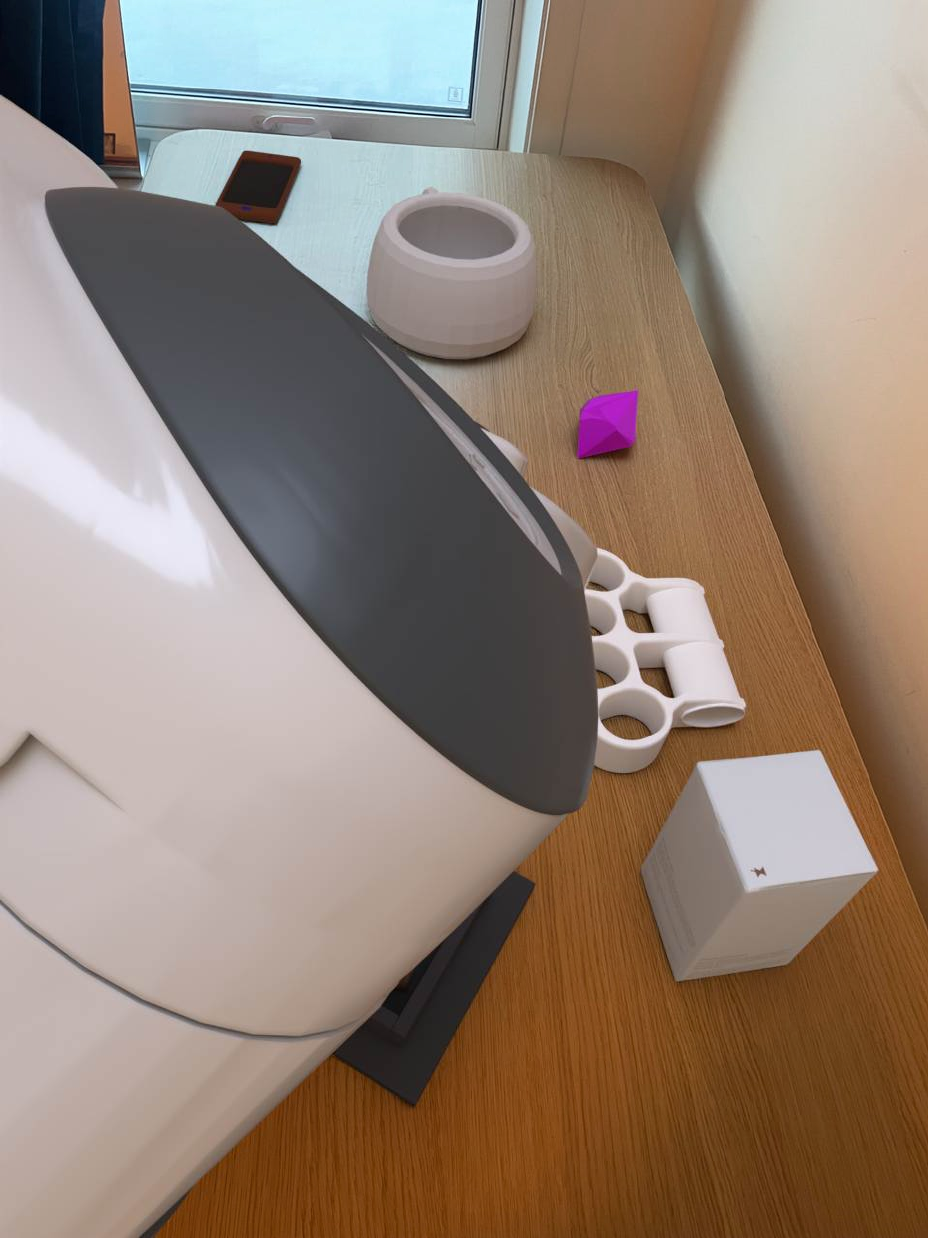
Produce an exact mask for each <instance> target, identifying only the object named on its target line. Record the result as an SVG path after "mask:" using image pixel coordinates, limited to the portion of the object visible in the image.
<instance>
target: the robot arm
mask: <svg viewBox="0 0 928 1238" xmlns="http://www.w3.org/2000/svg"><path fill="white" fill-rule="evenodd" d="M528 465H529V461H528V458H527V456H525V454H524V452H523V451H521V450H520V449H519V448H518V447H517V446H516V445H515V444H514V443H512V442H510V441H509V440H507V439H505V438H503V437H501V436H499V435H497V434H495V433H493V432H491V431H490V430H489V429H488V428H487V427H485V426H484V425H483V424H481V423H479V422H478V421H475V420H474V419H473V418H472V417H471V416H470V415H469V414H468V413H467V412H466V411H465V410H464V409H463V408H462V406H460V404H459V403H457V401H456V400H455V399H454V398H452V397H451V395H450V394H449V393H448V392H447V391H446V390H444V389H443V387H441V386H440V385H439V384H438V383H437V382H436V381H435V379H433V378H432V377H431V376H430V375H428V373H426V371H424V370H423V369H422V368H421V367H420V366H419V365H418V364H417V363H416V362H415V361H413V360H412V359H411V358H410V357H409V356H408V355H406V353H404V352H403V351H402V350H401V349H399V347H397V345H395V344H394V343H393V342H392V341H390V340H389V339H388V338H387V337H386V336H384V335H383V334H382V333H381V332H380V331H378V330H377V329H376V328H375V327H373V326H372V325H371V324H370V323H369V322H367V321H366V320H365V319H363V318H362V316H361V315H359V314H358V313H356V312H355V311H354V310H352V309H351V308H350V307H348V306H347V305H346V304H344V303H343V302H342V301H341V300H340V299H338V298H337V297H335V296H334V295H333V294H331V293H330V292H329V291H327V290H326V289H325V288H323V286H321V285H320V284H318V283H317V282H316V281H314V280H313V279H312V278H310V277H309V276H308V275H306V274H305V273H304V272H302V271H301V270H300V269H298V268H297V267H296V266H294V265H293V263H291V262H290V261H289V260H288V259H287V258H286V257H284V255H282V254H281V253H280V252H279V251H278V250H277V249H276V248H274V247H273V246H272V245H271V244H269V242H267V241H266V240H265V239H264V238H262V237H261V236H260V235H259V234H258V233H257V232H255V231H254V230H252V229H251V227H249V226H248V225H247V224H245V223H244V222H243V221H242V220H241V219H237V218H236V217H235V216H233V215H232V214H231V213H229V212H228V211H227V210H225V209H224V208H222V207H218V206H215V205H213V204H208V203H204V202H199V201H194V200H188V199H184V198H179V197H174V196H169V195H164V194H163V195H162V194H158V193H153V192H147V191H142V190H136V189H128V188H119V187H118V185H117V184H116V183H115V182H114V180H112V179H111V178H110V177H109V175H108V174H107V173H106V172H105V171H104V170H103V169H102V168H101V167H99V165H97V164H96V162H94V160H93V159H91V158H90V157H89V156H87V155H86V154H85V153H84V152H82V151H81V150H80V149H78V148H77V147H76V146H75V145H74V144H72V143H70V142H69V141H68V140H67V139H65V138H64V137H62V136H61V135H60V134H59V133H57V132H55V130H53V129H51V128H50V127H48V126H47V125H45V124H44V123H42V122H41V121H40V120H38V119H37V118H36V117H34V116H32V115H31V114H30V113H28V112H27V111H26V110H24V109H23V108H21V107H19V106H18V105H17V104H15V103H14V102H13V101H11V100H9V99H8V98H6V97H5V96H3V95H2V94H0V1238H154V1237H155V1236H156V1235H157V1234H158V1233H159V1232H160V1230H161V1229H162V1228H163V1227H164V1226H165V1225H166V1224H167V1222H168V1221H169V1220H171V1218H172V1216H173V1215H174V1214H175V1213H176V1211H177V1210H178V1209H179V1207H180V1206H181V1204H182V1203H183V1202H184V1200H185V1199H186V1198H187V1196H188V1195H189V1194H190V1193H191V1192H192V1190H193V1188H194V1187H195V1186H196V1184H197V1183H198V1182H200V1180H202V1178H204V1177H205V1176H206V1174H208V1173H209V1172H211V1170H212V1169H213V1168H214V1167H215V1166H216V1165H217V1164H218V1163H219V1162H220V1161H222V1159H224V1157H225V1156H227V1155H228V1154H229V1152H231V1151H232V1150H233V1149H234V1148H235V1147H236V1146H237V1145H238V1144H239V1143H240V1142H241V1141H242V1140H243V1139H244V1138H245V1137H246V1136H247V1135H248V1134H250V1133H251V1132H252V1131H253V1130H254V1129H255V1128H256V1127H257V1126H258V1125H259V1124H260V1123H261V1122H262V1121H263V1120H264V1119H265V1118H267V1116H268V1115H269V1114H270V1113H271V1112H272V1111H273V1110H274V1109H276V1107H278V1106H279V1105H280V1104H281V1103H282V1102H283V1101H284V1100H285V1099H286V1098H288V1096H289V1095H290V1094H291V1093H292V1092H293V1091H294V1090H296V1088H298V1087H299V1086H300V1085H301V1084H302V1083H303V1082H304V1081H305V1080H306V1079H307V1078H308V1077H309V1076H310V1075H311V1074H313V1072H314V1071H315V1070H316V1069H317V1068H318V1067H320V1066H321V1064H323V1063H324V1062H325V1061H326V1060H327V1059H328V1058H329V1057H330V1056H332V1053H333V1052H334V1051H335V1050H336V1049H337V1048H338V1047H339V1046H340V1045H341V1044H342V1043H343V1042H344V1041H345V1040H346V1039H347V1038H348V1037H350V1036H351V1035H352V1034H353V1033H354V1032H355V1031H356V1030H357V1029H358V1028H359V1027H360V1026H361V1025H362V1024H363V1023H364V1022H365V1021H366V1020H367V1019H368V1018H369V1017H370V1016H371V1015H372V1014H374V1013H375V1012H376V1011H377V1010H378V1009H379V1008H380V1007H381V1005H382V1004H383V1002H384V1001H385V999H386V998H387V996H388V995H389V993H390V992H391V991H392V990H393V989H394V988H395V987H396V986H397V985H398V984H399V981H400V980H401V979H402V978H403V977H404V976H405V975H407V974H408V973H409V972H410V971H411V970H413V969H414V968H415V967H416V966H417V965H418V964H419V963H420V962H421V961H422V960H423V959H424V958H425V957H426V956H427V955H428V954H430V953H431V952H432V951H433V950H434V949H435V948H436V947H437V946H438V945H439V944H440V943H441V942H442V941H443V940H444V939H445V938H447V937H448V936H449V935H450V934H451V933H452V932H453V931H454V930H455V929H456V928H457V927H458V926H459V925H460V924H461V923H462V922H463V921H464V920H465V919H466V918H467V917H468V916H469V915H470V914H471V913H472V912H473V911H474V910H475V909H476V908H477V907H478V906H479V905H480V904H481V903H482V902H483V901H484V900H485V899H486V898H487V897H488V896H489V895H490V894H491V893H492V892H493V891H494V890H495V889H496V888H497V887H498V886H499V885H500V884H501V883H502V882H503V881H504V880H505V879H506V878H507V877H508V876H509V875H510V874H511V873H512V872H513V871H514V872H515V871H516V870H517V869H518V868H519V867H520V866H521V865H522V864H523V863H524V862H525V861H526V860H527V859H528V858H529V857H530V856H531V855H532V854H533V852H535V851H536V850H537V849H538V848H539V847H540V846H541V845H542V844H543V843H544V842H545V841H546V840H547V839H548V837H549V836H551V835H552V833H553V832H554V831H555V830H556V829H557V828H558V827H559V826H560V825H561V824H562V823H563V822H564V821H565V819H566V818H568V816H569V815H570V814H572V813H576V812H577V811H578V810H581V808H583V806H584V804H585V803H586V801H587V797H588V793H589V790H590V785H591V782H592V777H593V773H594V767H595V765H594V761H595V754H596V747H597V737H598V689H599V688H598V679H597V670H596V669H595V661H594V652H593V643H592V636H593V635H592V628H591V627H592V626H590V622H589V616H588V610H587V604H586V599H585V593H584V591H585V589H587V587H588V584H589V583H590V582H589V580H590V578H591V575H592V573H593V570H594V567H595V565H596V561H597V557H598V553H597V548H598V547H597V546H596V543H595V542H594V540H593V539H592V538H591V536H589V534H588V533H587V532H586V531H585V529H584V528H582V527H581V525H579V524H578V523H577V522H576V521H575V520H574V518H572V517H571V516H570V514H568V513H567V512H566V511H565V510H563V509H562V508H561V507H560V506H559V505H557V504H556V503H555V502H553V501H552V500H551V499H550V498H548V497H547V496H546V495H544V494H543V493H541V492H539V491H538V490H537V489H535V488H533V487H532V486H530V484H529V483H528V482H527V481H526V480H525V476H526V473H527V469H528Z"/></svg>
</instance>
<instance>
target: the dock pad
mask: <svg viewBox="0 0 928 1238" xmlns="http://www.w3.org/2000/svg"><path fill="white" fill-rule="evenodd" d="M535 887H536V883H535V882H534V881H533V880H531V879H529V878H527V877H525V876H524V875H522V874H520V873H518V872H516V871H515V870H514V871H513V872H512V873H511V874H510V875H509V876H508V877H507V878H506V879H505V880H504V881H503V882H502V883H501V884H500V885H499V886H498V887H497V888H496V889H495V890H494V891H493V892H492V893H491V894H490V895H489V896H488V897H487V898H486V899H485V900H484V901H483V902H482V903H481V904H480V905H479V906H478V907H477V908H476V909H475V910H474V911H473V912H472V913H471V914H470V915H469V916H468V917H467V918H466V919H465V920H464V921H463V922H462V923H461V924H460V925H459V926H458V927H457V928H456V929H455V930H454V931H453V932H452V933H451V934H450V935H449V936H448V937H447V938H445V939H444V940H443V941H442V942H441V943H440V944H439V945H438V946H437V947H436V948H435V949H434V950H433V951H432V952H431V953H430V954H428V955H427V956H426V957H425V958H424V959H423V960H422V961H421V962H420V963H419V964H418V965H417V966H416V968H415V971H414V973H413V977H412V979H411V982H410V985H409V988H408V990H407V991H406V992H404V991H401V990H399V989H395V988H394V989H393V990H392V991H391V992H390V993H389V995H388V996H387V998H386V999H385V1001H384V1002H383V1004H382V1005H381V1007H380V1008H379V1009H378V1010H377V1011H376V1012H375V1013H374V1014H372V1015H371V1016H370V1017H369V1018H368V1019H367V1020H366V1021H365V1022H364V1023H363V1024H362V1025H361V1026H360V1027H359V1028H358V1029H357V1030H356V1031H355V1032H354V1033H353V1034H352V1035H351V1036H350V1037H348V1038H347V1039H346V1040H345V1041H344V1042H343V1043H342V1044H341V1045H340V1046H339V1047H338V1048H337V1049H336V1050H335V1051H334V1052H333V1053H332V1054H331V1056H333V1057H336V1059H338V1060H339V1061H341V1062H342V1063H344V1064H346V1065H347V1066H349V1067H350V1068H352V1069H353V1070H355V1071H357V1072H358V1073H360V1074H361V1075H363V1076H364V1077H365V1078H367V1079H369V1080H371V1081H372V1082H373V1083H375V1084H376V1085H377V1086H379V1087H381V1088H382V1089H384V1090H385V1091H387V1092H389V1093H390V1094H392V1095H393V1096H395V1097H396V1098H397V1099H399V1100H401V1101H402V1102H404V1103H405V1104H407V1105H408V1106H410V1107H411V1108H413V1109H414V1108H416V1106H417V1104H418V1102H419V1101H420V1098H421V1096H422V1095H423V1093H424V1091H425V1090H426V1087H427V1085H428V1084H429V1082H430V1080H431V1078H432V1077H433V1075H434V1073H435V1071H436V1069H437V1068H438V1065H439V1064H440V1062H441V1060H442V1058H443V1056H444V1055H445V1052H446V1051H447V1049H448V1047H449V1045H450V1043H451V1042H452V1041H453V1038H454V1036H455V1034H456V1032H457V1030H458V1028H460V1025H461V1024H462V1021H463V1020H464V1018H465V1016H466V1014H467V1013H468V1010H469V1009H470V1007H471V1005H472V1003H473V1001H474V999H475V998H476V996H477V994H478V992H479V990H480V988H481V987H482V985H483V983H484V981H485V979H486V978H487V976H488V974H489V972H490V971H491V969H492V967H493V966H494V963H495V962H496V958H497V957H498V956H499V953H500V952H501V950H502V948H503V946H504V944H505V943H506V940H507V939H508V937H509V935H510V933H511V931H512V930H513V929H514V926H515V924H516V923H517V920H518V919H519V917H520V915H521V913H522V911H523V910H524V907H526V904H527V902H528V901H529V899H530V897H531V895H532V893H533V892H534V889H535Z"/></svg>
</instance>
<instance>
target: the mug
mask: <svg viewBox="0 0 928 1238" xmlns="http://www.w3.org/2000/svg"><path fill="white" fill-rule="evenodd" d="M370 251H371V252H370V257H369V263H368V268H367V277H366V298H367V304H368V308H369V313H370V315H371V318H372V319H373V321H374V322H375V324H376V326H377V327H378V328H379V329H380V330H382V331H383V332H384V333H385V334H386V335H387V337H389V338H390V339H392V340H393V341H394V342H396V343H398V344H399V345H401V346H403V347H405V348H407V349H408V350H410V351H413V352H416V353H418V354H422V355H424V356H427V357H433V358H439V359H444V360H471V359H477V358H483V357H484V358H485V357H486V356H489V355H493V354H496V353H497V352H500V351H502V350H505V349H507V348H509V347H510V346H512V345H513V344H514V343H516V342H517V341H520V339H521V338H522V336H523V335H524V334H525V332H526V331H527V329H528V328H529V325H530V323H531V320H532V318H533V316H534V309H535V304H536V293H537V282H538V281H537V279H538V277H537V276H538V269H537V265H538V264H537V254H536V253H537V252H536V246H535V242H534V239H533V236H532V233H531V230H530V227H529V226H528V225H527V223H526V222H525V221H524V220H523V218H522V217H521V215H518V214H517V213H516V212H514V211H513V210H512V209H510V208H509V207H507V206H505V205H502V204H501V203H498V202H496V201H494V200H492V199H488V198H484V197H481V196H478V195H472V194H466V193H459V192H440V191H438V189H437V188H435V187H432V186H430V187H427V188H425V189H424V190H423V191H422V193H421V194H417V195H415V196H410V197H407V198H405V199H403V200H401V201H399V202H397V203H395V204H394V205H393V206H392V207H390V208H389V210H387V212H386V213H385V215H384V216H383V218H382V219H381V222H380V223H379V226H378V229H377V231H376V233H375V236H374V239H373V243H372V246H371V250H370Z"/></svg>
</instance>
